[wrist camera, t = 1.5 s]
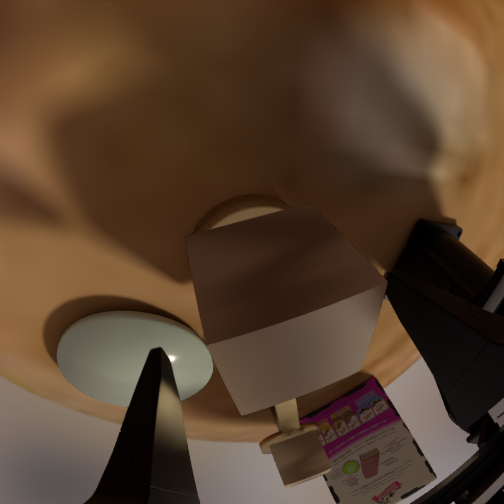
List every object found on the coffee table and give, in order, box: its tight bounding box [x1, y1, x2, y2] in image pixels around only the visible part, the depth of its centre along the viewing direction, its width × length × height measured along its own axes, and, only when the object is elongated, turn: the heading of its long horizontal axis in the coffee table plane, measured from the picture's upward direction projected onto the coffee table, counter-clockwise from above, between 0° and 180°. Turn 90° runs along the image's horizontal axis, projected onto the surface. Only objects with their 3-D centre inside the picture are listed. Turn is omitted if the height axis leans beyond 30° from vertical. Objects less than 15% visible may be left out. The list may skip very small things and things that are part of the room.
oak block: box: [269, 430, 332, 488], centre depth 19 cm, size 4×4×4 cm
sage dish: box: [57, 311, 213, 407], centre depth 15 cm, size 10×10×1 cm
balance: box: [193, 194, 322, 454], centre depth 17 cm, size 24×6×5 cm, turn 8°
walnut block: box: [185, 203, 388, 416], centre depth 10 cm, size 5×5×5 cm
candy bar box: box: [299, 377, 437, 504], centre depth 24 cm, size 11×5×16 cm, turn 121°
